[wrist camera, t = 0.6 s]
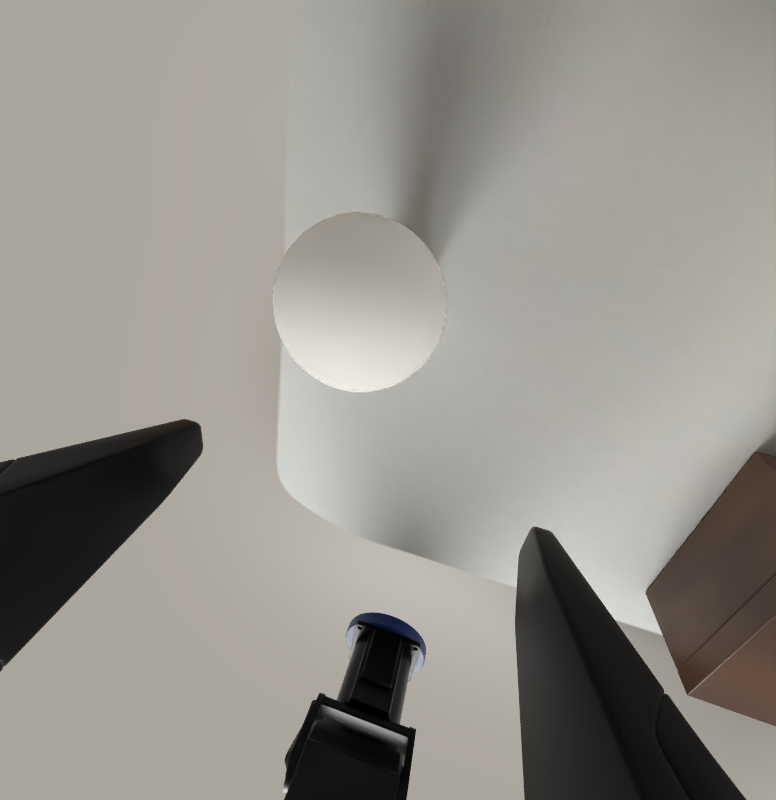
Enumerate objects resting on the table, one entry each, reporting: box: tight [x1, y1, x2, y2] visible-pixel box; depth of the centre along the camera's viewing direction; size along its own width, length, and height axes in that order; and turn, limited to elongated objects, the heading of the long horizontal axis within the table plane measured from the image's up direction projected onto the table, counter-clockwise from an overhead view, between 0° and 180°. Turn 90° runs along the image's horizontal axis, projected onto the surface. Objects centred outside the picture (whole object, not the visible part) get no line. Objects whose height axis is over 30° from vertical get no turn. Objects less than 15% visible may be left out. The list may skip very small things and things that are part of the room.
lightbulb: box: [273, 212, 447, 392], centre depth 15 cm, size 6×6×11 cm
